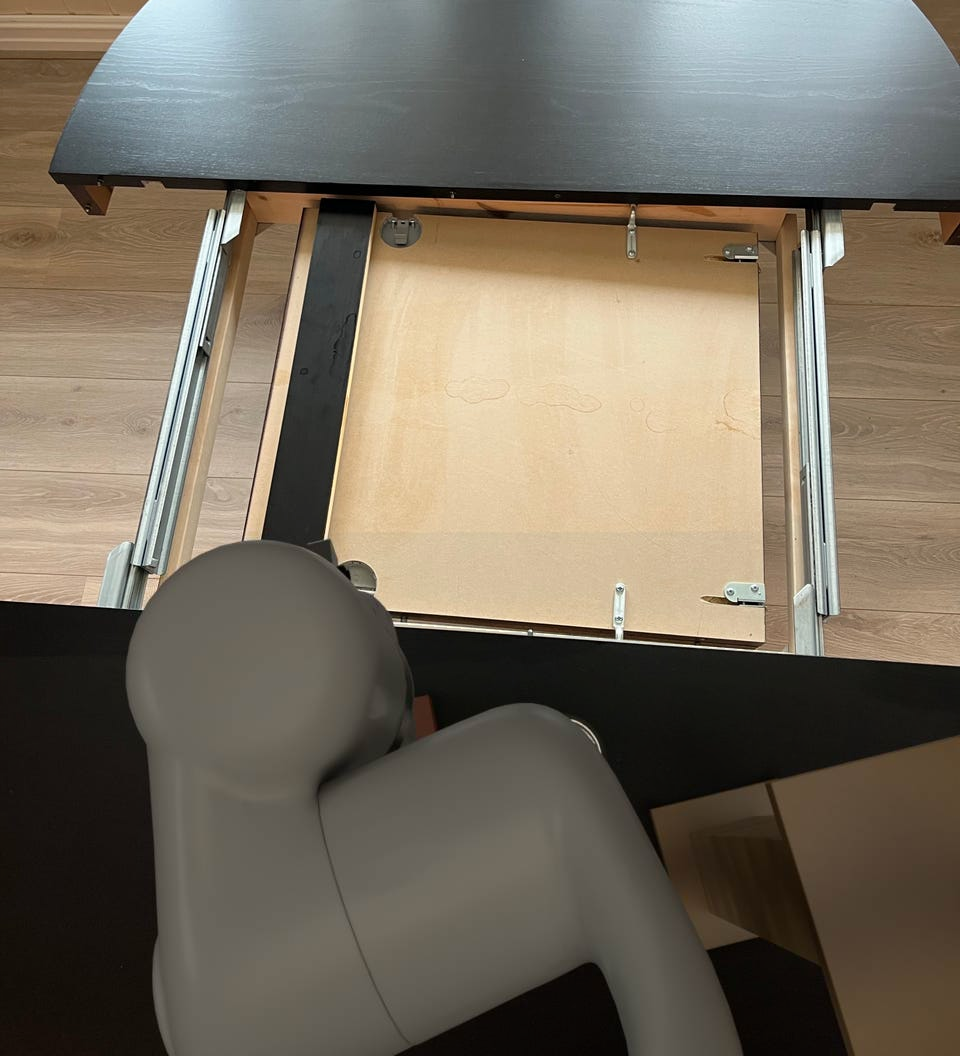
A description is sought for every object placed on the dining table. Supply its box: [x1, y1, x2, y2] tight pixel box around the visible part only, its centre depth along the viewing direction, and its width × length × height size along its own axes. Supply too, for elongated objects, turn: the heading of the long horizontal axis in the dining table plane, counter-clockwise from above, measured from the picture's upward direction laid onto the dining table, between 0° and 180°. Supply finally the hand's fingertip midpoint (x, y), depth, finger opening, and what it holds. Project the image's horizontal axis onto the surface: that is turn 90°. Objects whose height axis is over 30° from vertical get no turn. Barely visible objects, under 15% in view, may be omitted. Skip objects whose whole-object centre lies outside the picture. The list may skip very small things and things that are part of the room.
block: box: [413, 694, 439, 740], centre depth 73 cm, size 5×5×3 cm
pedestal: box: [649, 734, 960, 1056], centre depth 52 cm, size 10×10×41 cm
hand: (371, 727), depth 58 cm, fingers open, 9 cm apart
